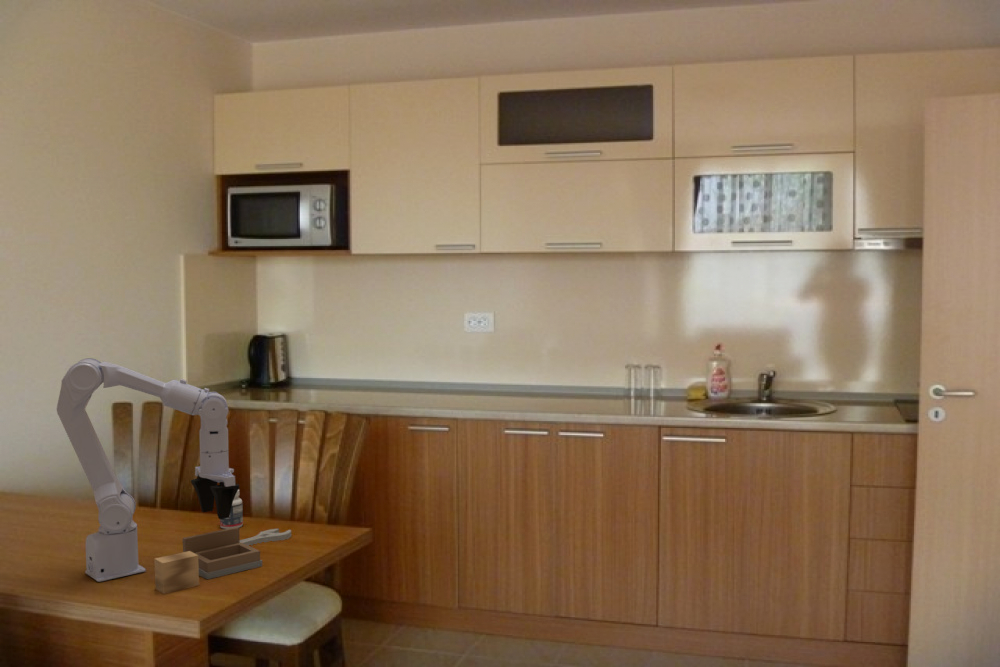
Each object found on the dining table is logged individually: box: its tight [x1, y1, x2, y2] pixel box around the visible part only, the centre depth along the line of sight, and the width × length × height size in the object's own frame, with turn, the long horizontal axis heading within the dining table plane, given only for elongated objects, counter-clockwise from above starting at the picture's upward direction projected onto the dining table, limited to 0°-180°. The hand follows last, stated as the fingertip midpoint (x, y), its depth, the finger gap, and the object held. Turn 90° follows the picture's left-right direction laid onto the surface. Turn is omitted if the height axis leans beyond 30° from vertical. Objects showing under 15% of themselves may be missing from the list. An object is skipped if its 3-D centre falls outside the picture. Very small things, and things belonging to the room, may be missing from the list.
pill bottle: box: [219, 488, 244, 530], centre depth 214 cm, size 5×5×9 cm
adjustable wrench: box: [240, 528, 292, 546], centre depth 198 cm, size 25×6×2 cm, turn 134°
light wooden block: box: [153, 551, 200, 595], centre depth 172 cm, size 7×4×6 cm, turn 132°
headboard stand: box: [182, 527, 263, 580], centre depth 184 cm, size 12×12×6 cm
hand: (215, 514), depth 186 cm, fingers open, 7 cm apart
